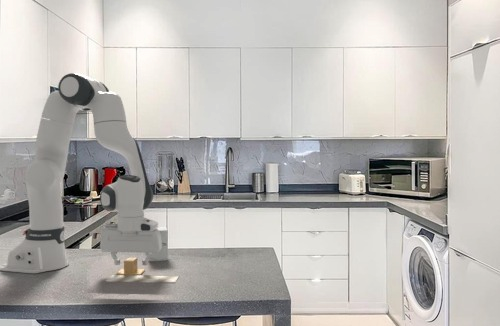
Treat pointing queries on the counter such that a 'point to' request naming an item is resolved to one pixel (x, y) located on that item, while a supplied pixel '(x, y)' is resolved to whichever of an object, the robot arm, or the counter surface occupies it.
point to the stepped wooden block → (130, 268)
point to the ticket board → (143, 278)
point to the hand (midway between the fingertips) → (131, 264)
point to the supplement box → (164, 250)
